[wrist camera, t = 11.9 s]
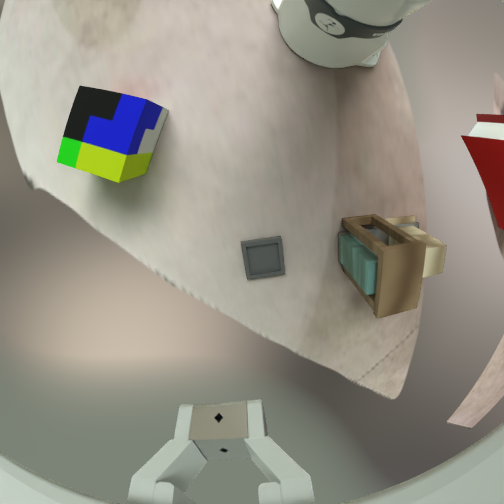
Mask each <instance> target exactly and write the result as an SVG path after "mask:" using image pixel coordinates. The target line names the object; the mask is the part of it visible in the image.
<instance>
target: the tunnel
mask: <svg viewBox="0 0 504 504" xmlns="http://www.w3.org/2000/svg"><path fill="white" fill-rule="evenodd" d="M367 224H372V225H374V226H376V227H377V228H379V229H380V230H382V231H383V232H384V233H386V234H387V235H389V236H390V237H392V238H393V239H395V240H396V241H398V242H399V243H400V244H397V245H391V246H387V245H386V244H385V243H383V242H382V241H381V240H379V239H378V238H377V237H375V236H374V235H373V234H371V233H370V232H369V231H367V230H366V229H364V228H363V227H362V226H360V225H367ZM342 226H343V227H345V228H346V229H347V230H348V231H349V232H351V233H352V234H353V235H354V236H355V237H356V238H358V239H359V240H360V241H361V242H362V243H363V244H365V245H366V246H367V247H368V248H369V249H370V250H372V251H373V252H374V253H375V254H376V255H377V256H378V270H377V283H376V293H375V294H370V295H366V294H365V292H364V291H363V290H362V289H361V287H360V286H359V285H358V283H357V282H356V281H355V280H354V278H353V277H352V276H351V275H350V273H349V272H348V271H347V270H346V268H345V267H344V266H343V271H344V272H345V273H346V275H347V276H348V277H349V279H350V280H351V281H352V283H353V284H354V285H355V286H356V288H357V289H358V290H359V292H360V293H361V294H362V296H363V297H364V299H365V300H366V301H367V303H368V304H369V305H370V307H371V308H372V309H373V311H374V312H373V314H374V315H375V317H376V318H377V319H378V318H382V317H386V316H389V315H393V314H397V313H400V312H404V311H408V310H411V309H415V308H417V305H418V300H419V295H420V289H421V283H422V277H423V270H424V262H425V254H426V245H427V244H426V243H425V242H423V241H422V240H420V241H419V240H417V239H416V238H414V237H412V236H411V235H409V234H408V233H406V232H404V231H403V230H401V229H399V228H398V227H396V226H394V225H393V224H391V223H389V222H388V221H386V220H384V219H383V218H381V217H379V216H377V215H376V214H374V215H365V216H357V217H349V218H342Z"/></svg>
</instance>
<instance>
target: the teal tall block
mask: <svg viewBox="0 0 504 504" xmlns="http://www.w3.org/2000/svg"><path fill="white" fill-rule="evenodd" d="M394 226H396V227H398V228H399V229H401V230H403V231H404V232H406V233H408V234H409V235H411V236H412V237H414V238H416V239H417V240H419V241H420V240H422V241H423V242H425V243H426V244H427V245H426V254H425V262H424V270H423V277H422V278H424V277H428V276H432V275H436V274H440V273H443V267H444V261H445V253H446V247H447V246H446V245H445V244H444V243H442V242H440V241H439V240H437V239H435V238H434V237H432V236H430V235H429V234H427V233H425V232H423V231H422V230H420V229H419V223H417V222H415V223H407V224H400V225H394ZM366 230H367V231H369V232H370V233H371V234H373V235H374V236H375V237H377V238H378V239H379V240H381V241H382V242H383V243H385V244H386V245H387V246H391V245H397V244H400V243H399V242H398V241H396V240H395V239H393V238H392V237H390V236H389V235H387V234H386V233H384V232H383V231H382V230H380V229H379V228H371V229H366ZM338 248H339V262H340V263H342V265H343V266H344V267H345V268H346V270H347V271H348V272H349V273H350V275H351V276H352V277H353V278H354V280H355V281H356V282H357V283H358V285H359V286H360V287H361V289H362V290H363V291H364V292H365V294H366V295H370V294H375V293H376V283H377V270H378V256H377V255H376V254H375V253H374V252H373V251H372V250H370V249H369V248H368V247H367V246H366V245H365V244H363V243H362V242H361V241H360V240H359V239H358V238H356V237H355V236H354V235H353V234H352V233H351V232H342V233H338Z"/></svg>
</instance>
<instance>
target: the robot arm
mask: <svg viewBox="0 0 504 504" xmlns="http://www.w3.org/2000/svg"><path fill="white" fill-rule="evenodd" d="M430 1H431V0H272V1H271V4H272V7H273V8H274V10H275V11H276V13H277V14H278V18H279V28H280V32H281V34H282V37H283V38H284V40H285V42H286V43H287V44H288V45H289V47H290V48H291V49H292V50H293V51H294V52H296V53H297V54H298V55H299V56H301V57H302V58H304V59H306V60H308V61H309V62H312V63H314V64H317V65H320V66H324V67H329V68H344V67H348V66H353V65H359V66H364V67H373V66H374V65H376V64H377V61H378V58H379V55H380V52H381V49H383V48H384V47H385V46H386V45H387V39H388V36H389V32H391V31H392V30H394V29H395V28H396V27H397V26H398V25H399V24H400V23H401V22H402V19H403V18H404V17H406V16H407V15H409V14H411V13H412V12H414V11H416V10H417V9H419V8H421V7H422V6H424V5H426V4H428V3H429V2H430ZM501 1H502V2H503V3H504V0H501ZM229 459H230V460H233V459H252V460H253V461H254V463H255V464H256V465H257V466H258V467H259V469H260V470H261V471H262V472H263V474H264V475H265V476H266V477H267V478H268V479H269V480H270V483H262V484H261V485H260V486H259V504H315V499H314V494H313V488H312V483H311V478H310V475H309V474H307V473H306V472H305V471H304V470H303V469H302V468H301V467H300V466H299V465H298V464H297V463H296V462H295V461H294V460H292V459H291V458H290V457H289V456H288V455H287V454H286V453H285V452H284V451H283V450H282V449H281V448H280V447H279V446H278V445H277V444H276V443H275V442H274V441H273V440H272V439H271V437H270V436H268V433H267V424H266V418H265V412H264V407H263V402H262V399H258V400H251V401H247V400H246V401H237V402H226V403H218V404H181V406H180V407H179V412H178V417H177V423H176V429H175V435H174V440H169V441H168V442H167V443H166V444H165V445H164V446H163V447H162V448H161V449H160V450H159V451H158V452H157V453H156V454H155V455H154V456H153V457H152V458H151V459H150V460H149V461H148V462H147V463H146V464H145V465H144V466H143V467H142V468H141V469H140V470H139V471H138V472H136V473H135V474H134V476H132V481H131V485H130V490H129V495H128V500H127V504H196V502H195V501H194V500H192V499H191V498H190V497H188V496H187V495H186V494H184V492H185V491H186V489H187V488H188V487H189V486H190V484H191V483H192V482H193V480H194V479H195V478H196V476H197V475H198V474H199V472H200V471H201V470H202V468H203V467H204V465H205V464H206V463H207V460H229ZM0 504H118V503H114V502H110V501H107V500H104V499H101V498H97V497H94V496H91V495H88V494H86V493H83V492H80V491H77V490H75V489H72V488H69V487H67V486H64V485H62V484H60V483H57V482H55V481H53V480H51V479H49V478H47V477H44V476H42V475H40V474H38V473H36V472H34V471H32V470H31V469H29V468H27V467H25V466H23V465H21V464H20V463H18V462H16V461H14V460H12V459H11V458H9V457H8V456H6V455H5V454H3V453H1V452H0ZM341 504H504V422H503V423H502V424H501V425H499V426H498V427H497V428H496V429H494V430H493V431H492V432H490V433H489V434H488V435H486V436H485V437H484V438H482V439H481V440H479V441H478V442H476V443H475V444H473V445H472V446H470V447H469V448H467V449H466V450H464V451H462V452H461V453H459V454H458V455H456V456H454V457H453V458H451V459H449V460H447V461H446V462H444V463H442V464H440V465H438V466H437V467H435V468H433V469H431V470H429V471H427V472H425V473H423V474H421V475H419V476H417V477H414V478H412V479H410V480H407V481H405V482H403V483H401V484H398V485H396V486H393V487H391V488H388V489H385V490H383V491H380V492H377V493H374V494H371V495H368V496H365V497H362V498H359V499H355V500H352V501H348V502H345V503H341Z"/></svg>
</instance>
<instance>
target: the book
mask: <svg viewBox="0 0 504 504" xmlns="http://www.w3.org/2000/svg"><path fill="white" fill-rule="evenodd" d="M461 137H462V139H463V140H464V142H465V144H466V146H467V148H468V150H469V152H470V154H471V156H472V159H473V161H474V163H475V165H476V167H477V169H478V172H479V174H480V176H481V179H482V181H483V183H484V186H485V189H486V191H487V194H488V196H489V199H490V202H491V205H492V207H493V210H494V213H495V216H496V220H497V223H498V226H499V228H501V229H503V230H504V115H490V114H477V124H476V125H475V126H474V128H473V129H472V130H471V132H470V133H469V135H468V136H461Z"/></svg>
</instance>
